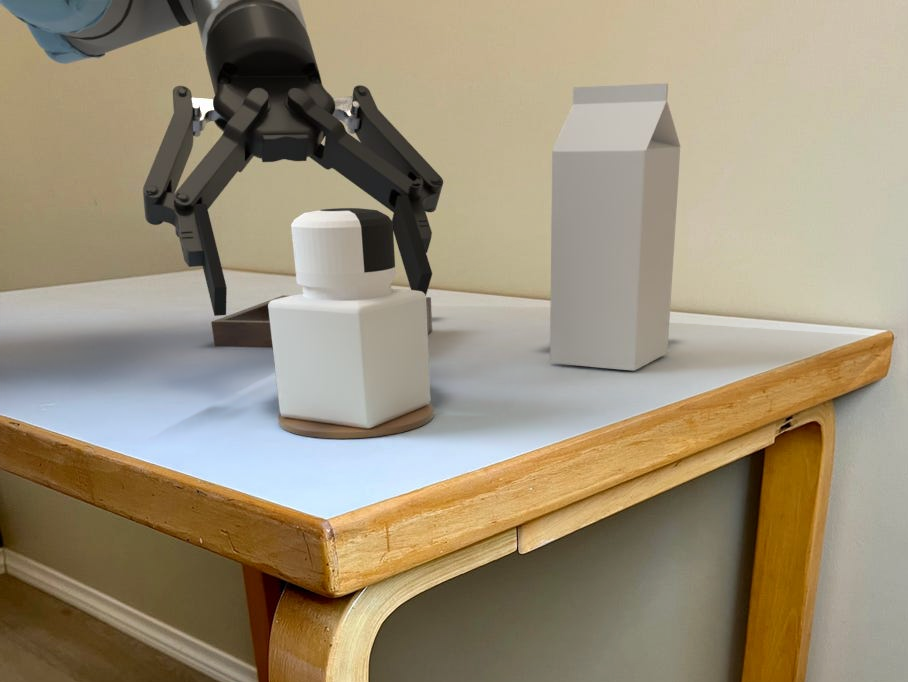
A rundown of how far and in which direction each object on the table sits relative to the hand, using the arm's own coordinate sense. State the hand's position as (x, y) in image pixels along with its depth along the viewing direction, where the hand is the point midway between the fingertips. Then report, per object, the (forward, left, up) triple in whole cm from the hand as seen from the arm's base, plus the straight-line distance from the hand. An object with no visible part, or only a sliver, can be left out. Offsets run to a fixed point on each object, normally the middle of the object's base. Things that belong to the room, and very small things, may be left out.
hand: (325, 295), depth 66 cm
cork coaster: (+3, -4, -7) cm, 9 cm away
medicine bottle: (+3, -4, -7) cm, 8 cm away
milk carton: (+17, +16, -7) cm, 24 cm away
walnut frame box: (-8, +20, -7) cm, 23 cm away
